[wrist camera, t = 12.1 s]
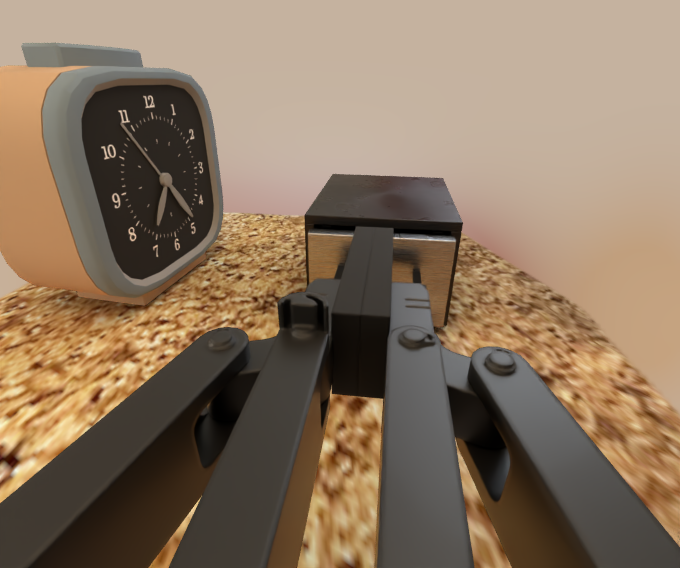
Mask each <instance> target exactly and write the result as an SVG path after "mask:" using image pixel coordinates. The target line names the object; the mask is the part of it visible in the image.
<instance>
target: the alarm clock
mask: <svg viewBox="0 0 680 568" xmlns="http://www.w3.org/2000/svg"><path fill="white" fill-rule="evenodd" d="M22 50H23V53H24V57H25V60H26V63H27V66H3V67H0V251H1V253H2V255H3V256H4V259H5V260H6V262H7V264H8V265H9V266H10V267H11V268H12V269H13V270H14V271H15V273H17V275H18V276H19V277H20V278H22V279H24V280H25V281H27V282H29V283H31V284H33V285H36V286H43V287H51V288H58V289H65V290H73V291H76V292H77V295H78V297H84V298H91V299H99V300H106V301H114V302H121V303H128V304H136V305H143V306H145V305H147V304H148V303H149V302H150V301H152V300H153V299H154V298H156V297H157V296H158V295H160V294H161V293H162V292H163V291H165V290H166V289H167V288H169V287H170V286H171V285H172V284H174V283H175V282H176V281H178V280H179V279H180V278H182V277H183V276H184V275H185V274H187V273H188V272H189V271H191V270H192V269H193V268H194V267H196V266H197V265H198V264H200V263H201V262H202V261H204V260H205V259H206V254H205V252H206V251H207V250H208V248H209V247H210V246H211V245H212V244H213V243H214V242H215V241H216V239H217V237H218V234H219V232H220V230H221V225H222V220H223V196H222V186H221V179H220V171H219V164H218V155H217V148H216V140H215V133H214V126H213V120H212V115H211V111H210V108H209V104H208V101H207V99H206V96H205V94H204V92H203V90H202V88H201V87H200V86H199V85H198V83H197V82H196V81H195V80H194V79H193V78H192V77H191V76H190V75H187V74H184V73H181V72H178V71H175V70H172V69H167V68H143V65H142V60H141V55H140V53H139V52H138V51H137V50H130V49H122V48H112V47H102V46H90V45H78V44H64V43H23V45H22Z"/></svg>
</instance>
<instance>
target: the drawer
mask: <svg viewBox="0 0 680 568" xmlns="http://www.w3.org/2000/svg"><path fill="white" fill-rule="evenodd" d="M355 228H356V226H337V225H322V229H310V231H309V232H308V259H309V284H310V283H311V282H313V281H314V280H315V279H317V278H321V279H337V280H341V277H342V273H343V270H344V267H345V263H346V260H347V256H348V253H349V249H350V246H351V242H352V239H353V235H354V232H355ZM455 246H456V240H455V237H454V236H443V231H433V230H414V229H395V228H394V233H393V262H392V282H403V283H419V284H422V285H423V286H424V287H425V288H426V289H427V290H428V291H429V299H430V306H431V313H432V320H433V327H443V324H444V317H445V311H446V304H447V298H448V291H449V285H450V279H451V272H452V266H453V259H454V253H455Z"/></svg>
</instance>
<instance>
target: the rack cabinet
mask: <svg viewBox="0 0 680 568" xmlns="http://www.w3.org/2000/svg"><path fill="white" fill-rule="evenodd" d="M322 225H337V226H357V227H379V228H395V229H414V230H433V231H443V236H454V237H455V240H456V246H455V253H454V259H453V266H452V272H451V279H450V285H449V291H448V298H447V304H446V311H445V317H444V324H443V325H447V319H448V313H449V307H450V301H451V294H452V288H453V282H454V275H455V269H456V263H457V257H458V250H459V244H460V238H461V231H462V225H463V222H462V220H461V218H460V215H459V214H458V211H457V209H456V206H455V204H454V202H453V200H452V198H451V195H450V193H449V191H448V188H447V186H446V184H445V182H444V179H443V178H424V177H397V176H371V175H344V174H333V175H332V176H331V177H330V179H329V180H328V182H327V183H326V185H325V186H324V188H323V189H322V191H321V192H320V193H319V195H318V196H317V198H316V199H315V201H314V202H313V204H312V205H311V207H310V208H309V210H308V211H307V212H306V214H305V243H306V272H307V286H308V285H309V259H308V232H309V231H310V229H322Z"/></svg>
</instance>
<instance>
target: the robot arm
mask: <svg viewBox="0 0 680 568" xmlns="http://www.w3.org/2000/svg"><path fill="white" fill-rule="evenodd" d="M393 233H394V228H379V227H357V226H356V228H355V232H354V235H353V239H352V242H351V246H350V249H349V253H348V256H347V260H346V263H345V267H344V270H343V273H342V277H341V280H337V279H321V278H317V279H315V280H314V281H313V282H311V283H310V284H309V285H308V286H307V289H306V291H305V292H297V293H293V294H289V295H287V296H285V297H283V298H281V299H280V300H279V302H278V314H279V326H280V330H279V332H278V334H277V336H275V337H273V338H269V339H264V340H256V341H249V339H248V335H247V334H246V333H245V332H244V331H243V330H240V329H238V328H231V327H224V328H218V329H215V330H212V331H209V332H207V333H205V334H204V335H202V336H201V337H199V338H198V339H197V340H196V341H195V342H193V343H192V344H191V345H190V346H189V347H187V348H186V349H185V350H184V351H183V352H181V353H180V354H179V355H178V356H177V357H175V358H174V359H173V360H172V361H171V362H169V363H168V364H167V365H166V366H165V367H163V368H162V369H161V370H160V371H159V372H157V373H156V374H155V375H154V376H153V377H151V378H150V379H149V380H148V381H147V382H145V383H144V384H143V385H142V386H141V387H139V388H138V389H137V390H136V391H135V392H133V393H132V394H131V395H130V396H129V397H127V398H126V399H125V400H124V401H123V402H121V403H120V404H119V405H118V406H117V407H115V408H114V409H113V410H112V411H111V412H109V413H108V414H107V415H106V416H105V417H103V418H102V419H101V420H100V421H99V422H97V423H96V424H95V425H94V426H93V427H91V428H90V429H89V430H88V431H87V432H85V433H84V434H83V435H82V436H81V437H79V438H78V439H77V440H76V441H75V442H73V443H72V444H71V445H70V446H69V447H67V448H66V449H65V450H64V451H63V452H61V453H60V454H59V455H58V456H57V457H55V458H54V459H53V460H52V461H51V462H49V463H48V464H47V465H46V466H45V467H43V468H42V469H41V470H40V471H39V472H37V473H36V474H35V475H34V476H33V477H31V478H30V479H29V480H28V481H27V482H25V483H24V484H23V485H22V486H21V487H19V488H18V489H17V490H16V491H15V492H13V493H12V494H11V495H10V496H9V497H7V498H6V499H5V500H4V501H3V502H1V503H0V568H148V567H149V566H150V565H151V563H152V562H153V561H154V559H155V558H156V557H157V555H158V554H159V553H160V551H161V550H162V549H163V547H164V546H165V545H166V543H167V542H168V541H169V539H170V538H171V536H172V535H173V534H174V532H175V531H176V530H177V528H178V527H179V526H180V524H181V523H182V522H183V520H184V519H185V518H186V516H187V515H188V514H189V512H190V511H191V509H192V508H193V507H194V505H195V504H196V503H197V501H198V500H199V499H200V497H201V496H202V497H201V499H200V501H199V504H198V506H197V508H196V510H195V512H194V514H193V516H192V519H191V521H190V523H189V525H188V527H187V529H186V531H185V534H184V536H183V538H182V540H181V542H180V544H179V546H178V549H177V551H176V553H175V555H174V557H173V559H172V561H171V564H170V566H169V568H297V566H298V561H299V556H300V551H301V546H302V541H303V536H304V531H305V527H306V522H307V517H308V512H309V507H310V502H311V497H312V492H313V487H314V483H315V478H316V473H317V468H318V463H319V458H320V453H321V448H322V444H323V439H324V434H325V429H326V424H327V419H328V414H329V409H330V390H331V385H332V394H340V395H350V396H361V397H371V398H382V399H383V412H382V426H381V450H380V469H379V488H378V507H377V526H376V545H375V564H374V568H474V562H473V555H472V548H471V542H470V535H469V529H468V522H467V515H466V509H465V502H464V495H463V489H462V482H461V476H460V469H459V462H458V456H457V449H456V443H455V437H456V442H457V445H458V448H459V450H460V452H461V454H462V457H463V459H464V461H465V463H466V466H467V468H468V470H469V472H470V475H471V477H472V479H473V481H474V483H475V486H476V488H477V490H478V492H479V495H480V497H481V499H482V501H483V504H484V506H485V508H486V510H487V513H488V515H489V517H490V519H491V522H492V524H493V526H494V528H495V531H496V533H497V535H498V537H499V539H500V542H501V544H502V546H503V548H504V551H505V553H506V555H507V557H508V560H509V562H510V564H511V566H512V568H680V547H679V546H678V545H677V543H676V542H675V541H674V540H673V538H672V537H671V536H670V535H669V534H668V532H667V531H666V530H665V529H664V527H663V526H662V525H661V524H660V523H659V521H658V520H657V519H656V518H655V517H654V515H653V514H652V513H651V512H650V510H649V509H648V508H647V507H646V506H645V504H644V503H643V502H642V501H641V500H640V498H639V497H638V496H637V495H636V493H635V492H634V491H633V490H632V489H631V487H630V486H629V485H628V484H627V482H626V481H625V480H624V479H623V478H622V476H621V475H620V474H619V473H618V472H617V470H616V469H615V468H614V467H613V465H612V464H611V463H610V462H609V461H608V459H607V458H606V457H605V456H604V454H603V453H602V452H601V451H600V450H599V448H598V447H597V446H596V445H595V444H594V442H593V441H592V440H591V439H590V437H589V436H588V435H587V434H586V433H585V431H584V430H583V429H582V428H581V427H580V425H579V424H578V423H577V422H576V420H575V419H574V418H573V417H572V416H571V414H570V413H569V412H568V411H567V409H566V408H565V407H564V406H563V405H562V403H561V402H560V401H559V400H558V399H557V397H556V396H555V395H554V394H553V392H552V391H551V390H550V389H549V388H548V386H547V385H546V384H545V383H544V381H543V380H542V379H541V378H540V377H539V375H538V374H537V373H536V372H535V371H534V369H533V368H532V367H531V366H530V364H529V363H528V362H527V361H526V360H525V359H524V358H522V357H521V356H520V355H518V354H517V353H515V352H513V351H511V350H508V349H504V348H500V347H483V348H479V349H477V350H476V351H475V352H473V354H472V357H467V356H464V355H460V354H457V353H455V352H452V351H450V350H448V349H446V348H445V347H443V346H442V345H441V343H440V340H439V338H438V336H437V335H436V334H435V333H434V328H433V320H432V313H431V306H430V299H429V291H428V290H427V289H426V288H425V287H424V286H423V285H422V284H419V283H403V282H392V262H393Z"/></svg>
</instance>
